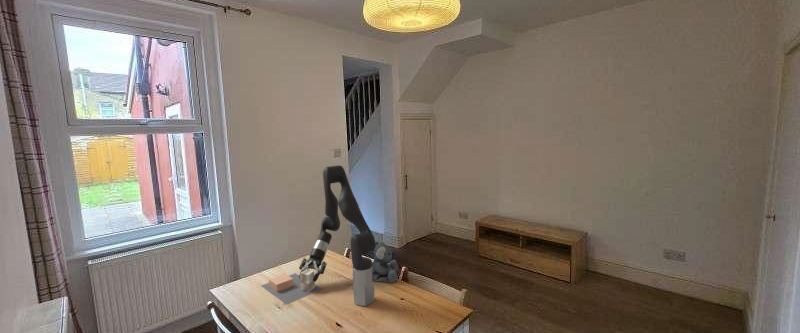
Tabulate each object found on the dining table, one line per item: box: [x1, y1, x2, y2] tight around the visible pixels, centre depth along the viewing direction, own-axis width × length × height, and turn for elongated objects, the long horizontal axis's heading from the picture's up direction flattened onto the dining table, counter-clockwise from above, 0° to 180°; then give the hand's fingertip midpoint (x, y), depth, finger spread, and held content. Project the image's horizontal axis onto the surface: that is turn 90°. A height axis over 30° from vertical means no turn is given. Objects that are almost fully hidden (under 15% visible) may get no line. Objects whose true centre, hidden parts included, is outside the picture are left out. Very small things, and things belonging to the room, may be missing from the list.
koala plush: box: [372, 240, 399, 283], centre depth 177 cm, size 17×18×20 cm
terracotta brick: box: [268, 273, 294, 292], centre depth 167 cm, size 9×9×4 cm
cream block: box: [299, 269, 316, 292], centre depth 163 cm, size 5×5×9 cm
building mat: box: [260, 273, 323, 305], centre depth 166 cm, size 28×20×1 cm
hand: (307, 279), depth 163 cm, fingers open, 8 cm apart
